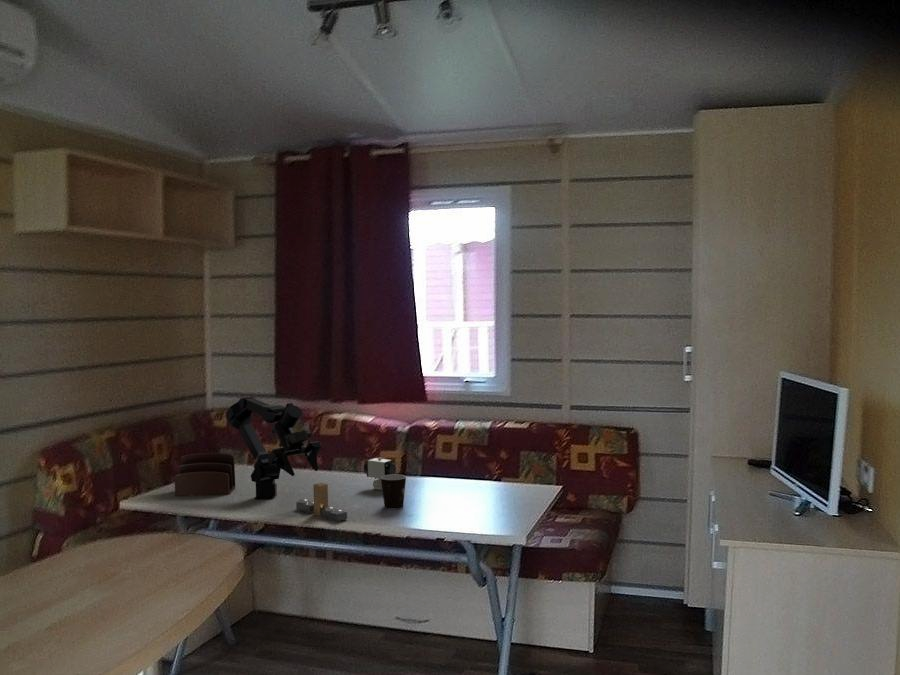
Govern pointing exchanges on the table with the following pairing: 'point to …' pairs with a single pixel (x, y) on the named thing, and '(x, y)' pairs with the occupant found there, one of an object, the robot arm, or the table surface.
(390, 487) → the coffee mug
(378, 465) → the pneumatic valve
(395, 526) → the table surface
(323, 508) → the tall brown post
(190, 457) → the letter holder
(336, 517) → the chain ends
